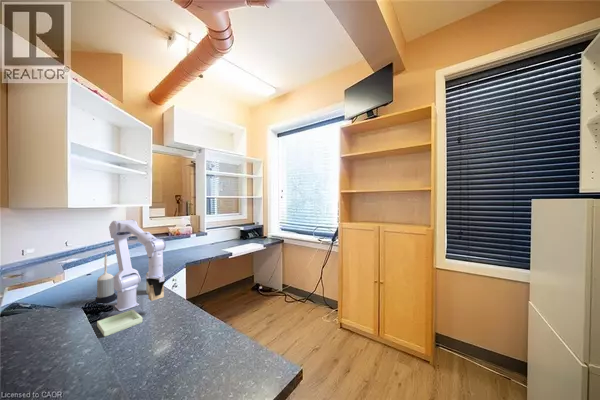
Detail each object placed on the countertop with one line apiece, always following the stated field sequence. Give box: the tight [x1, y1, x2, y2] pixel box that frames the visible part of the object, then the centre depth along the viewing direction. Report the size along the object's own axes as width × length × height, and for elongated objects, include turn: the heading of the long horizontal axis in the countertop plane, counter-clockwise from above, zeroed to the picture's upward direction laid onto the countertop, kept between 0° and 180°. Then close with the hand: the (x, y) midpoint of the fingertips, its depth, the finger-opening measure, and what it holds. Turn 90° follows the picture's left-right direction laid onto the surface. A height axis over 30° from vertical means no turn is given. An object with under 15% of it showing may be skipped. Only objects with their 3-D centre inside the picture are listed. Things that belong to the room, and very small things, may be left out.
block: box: [147, 284, 165, 302], centre depth 102 cm, size 4×5×6 cm
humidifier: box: [94, 254, 117, 304], centre depth 116 cm, size 8×8×25 cm
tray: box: [96, 309, 144, 338], centre depth 93 cm, size 13×13×2 cm
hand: (156, 293), depth 102 cm, fingers closed on block, 4 cm apart
